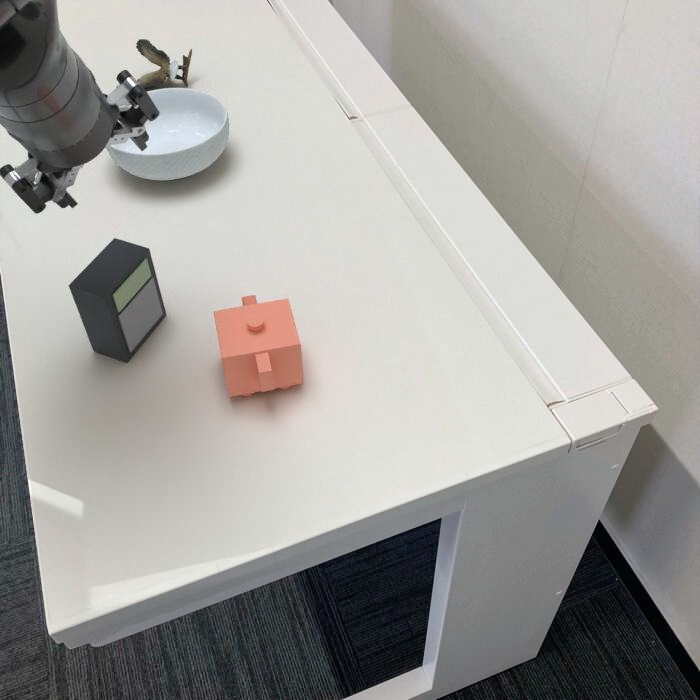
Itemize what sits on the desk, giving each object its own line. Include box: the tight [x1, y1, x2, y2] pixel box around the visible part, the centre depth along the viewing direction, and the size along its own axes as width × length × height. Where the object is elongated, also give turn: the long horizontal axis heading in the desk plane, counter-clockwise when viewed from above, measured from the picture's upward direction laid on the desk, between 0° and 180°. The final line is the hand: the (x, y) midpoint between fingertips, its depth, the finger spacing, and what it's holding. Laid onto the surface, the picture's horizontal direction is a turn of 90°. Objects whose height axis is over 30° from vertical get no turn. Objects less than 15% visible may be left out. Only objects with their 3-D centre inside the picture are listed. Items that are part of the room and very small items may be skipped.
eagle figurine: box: [135, 38, 193, 89], centre depth 121 cm, size 8×7×9 cm
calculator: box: [68, 237, 167, 364], centre depth 83 cm, size 5×8×10 cm, turn 157°
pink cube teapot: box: [213, 294, 305, 398], centre depth 80 cm, size 8×12×8 cm, turn 14°
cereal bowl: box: [105, 87, 230, 181], centre depth 106 cm, size 17×17×7 cm
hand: (103, 170), depth 74 cm, fingers open, 8 cm apart
